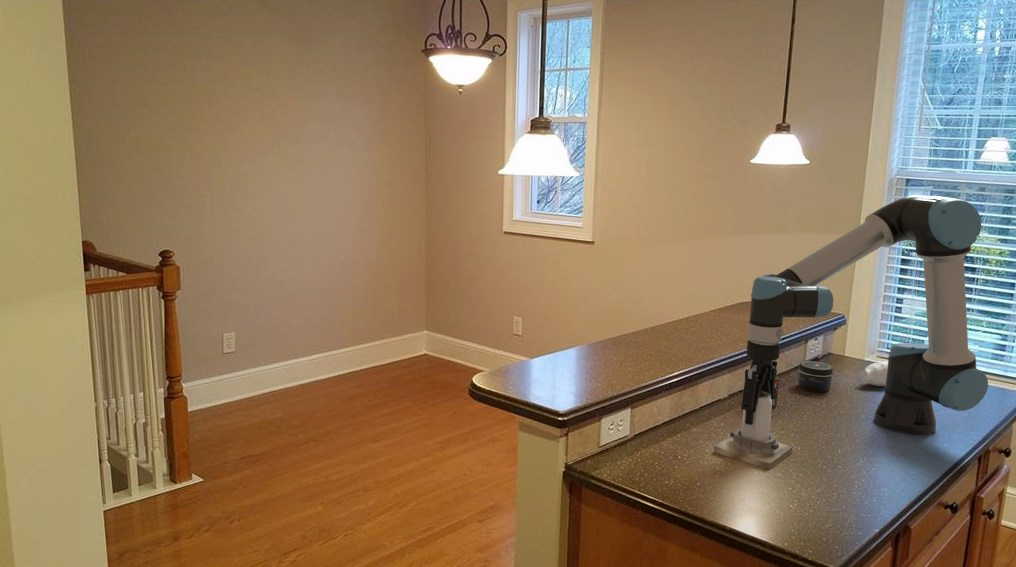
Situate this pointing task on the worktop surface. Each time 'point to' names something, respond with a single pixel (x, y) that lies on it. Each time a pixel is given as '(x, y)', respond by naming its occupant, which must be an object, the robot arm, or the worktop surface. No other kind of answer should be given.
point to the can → (761, 418)
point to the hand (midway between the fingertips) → (755, 432)
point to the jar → (815, 376)
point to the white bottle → (875, 374)
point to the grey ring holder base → (753, 450)
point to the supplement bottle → (775, 390)
